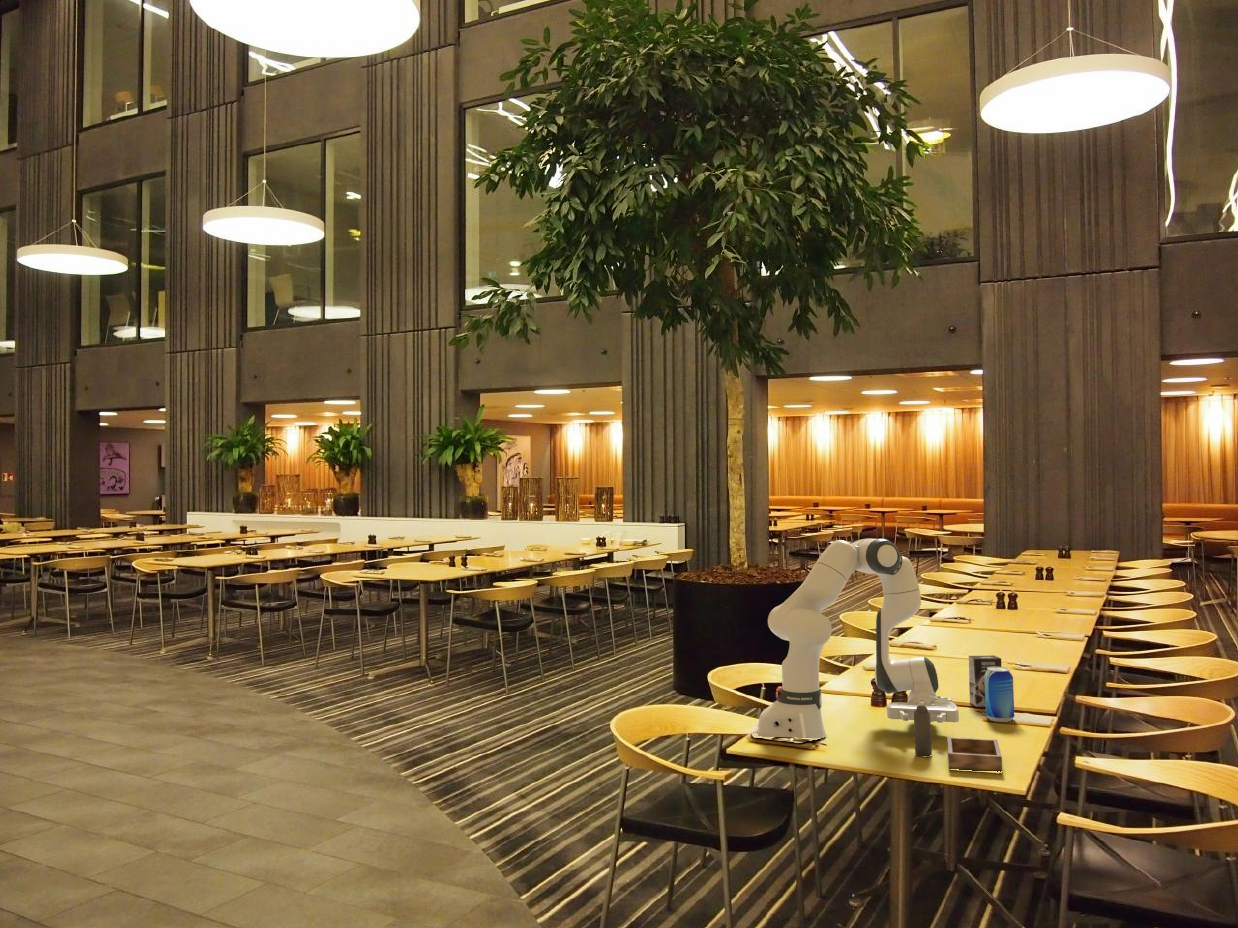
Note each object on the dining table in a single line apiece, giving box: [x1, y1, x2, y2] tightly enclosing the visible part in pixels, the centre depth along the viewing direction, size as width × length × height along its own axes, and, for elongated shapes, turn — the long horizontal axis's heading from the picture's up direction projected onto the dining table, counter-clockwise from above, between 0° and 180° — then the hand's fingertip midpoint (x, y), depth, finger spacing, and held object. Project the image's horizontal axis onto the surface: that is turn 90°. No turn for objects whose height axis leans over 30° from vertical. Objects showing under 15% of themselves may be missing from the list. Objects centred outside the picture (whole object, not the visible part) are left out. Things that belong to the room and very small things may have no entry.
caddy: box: [946, 736, 1003, 772], centre depth 249 cm, size 13×16×4 cm
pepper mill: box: [913, 701, 933, 757], centre depth 258 cm, size 4×4×15 cm
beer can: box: [984, 666, 1015, 723], centre depth 293 cm, size 8×8×16 cm
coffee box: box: [968, 654, 1002, 708], centre depth 312 cm, size 9×6×16 cm
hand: (922, 718), depth 267 cm, fingers open, 8 cm apart
